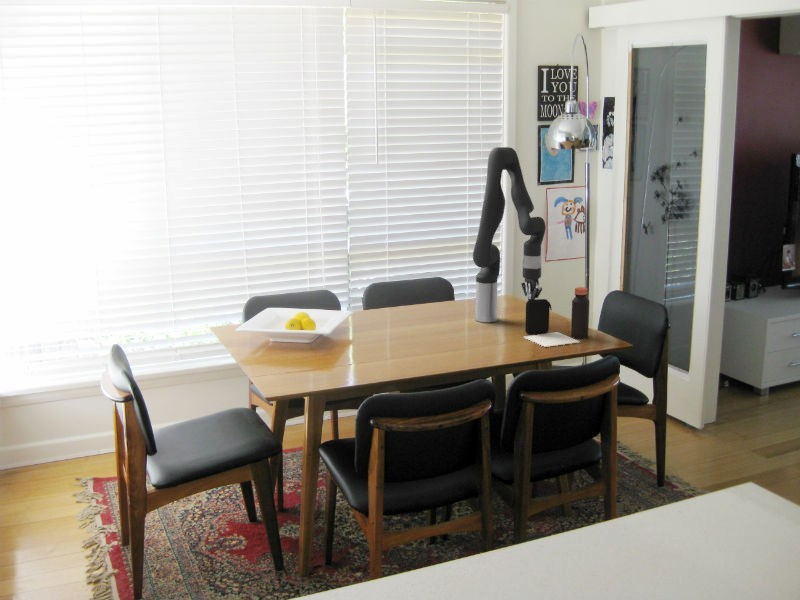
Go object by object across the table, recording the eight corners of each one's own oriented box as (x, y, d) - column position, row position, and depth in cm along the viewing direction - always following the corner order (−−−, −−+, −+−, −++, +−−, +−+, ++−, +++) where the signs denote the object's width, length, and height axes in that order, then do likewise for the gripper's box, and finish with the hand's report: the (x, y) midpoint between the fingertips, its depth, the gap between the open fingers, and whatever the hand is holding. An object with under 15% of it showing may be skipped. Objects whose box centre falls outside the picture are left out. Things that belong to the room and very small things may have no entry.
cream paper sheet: (523, 337, 340) (523, 336, 340) (557, 333, 346) (557, 331, 346) (545, 347, 326) (545, 346, 326) (580, 343, 332) (580, 341, 331)
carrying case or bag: (549, 332, 347) (550, 298, 344) (551, 334, 344) (552, 299, 341) (524, 333, 346) (525, 298, 343) (526, 335, 343) (527, 300, 340)
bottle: (588, 339, 337) (590, 290, 332) (570, 338, 338) (572, 290, 333) (587, 334, 343) (589, 286, 338) (570, 334, 344) (572, 286, 340)
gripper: (515, 264, 349) (515, 305, 353) (532, 269, 337) (531, 311, 341) (531, 262, 351) (530, 303, 355) (548, 268, 340) (547, 309, 343)
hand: (531, 307), depth 348 cm, fingers closed
